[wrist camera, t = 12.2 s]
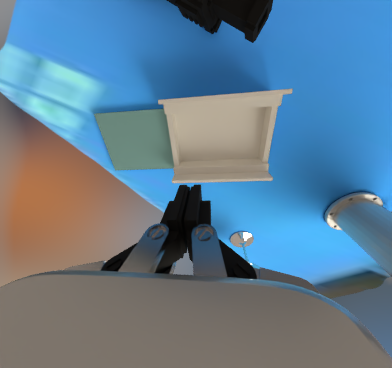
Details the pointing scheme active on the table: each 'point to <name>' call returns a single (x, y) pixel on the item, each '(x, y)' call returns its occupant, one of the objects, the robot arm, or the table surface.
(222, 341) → the robot arm
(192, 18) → the toy gun
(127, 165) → the lid
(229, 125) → the box
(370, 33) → the table surface
